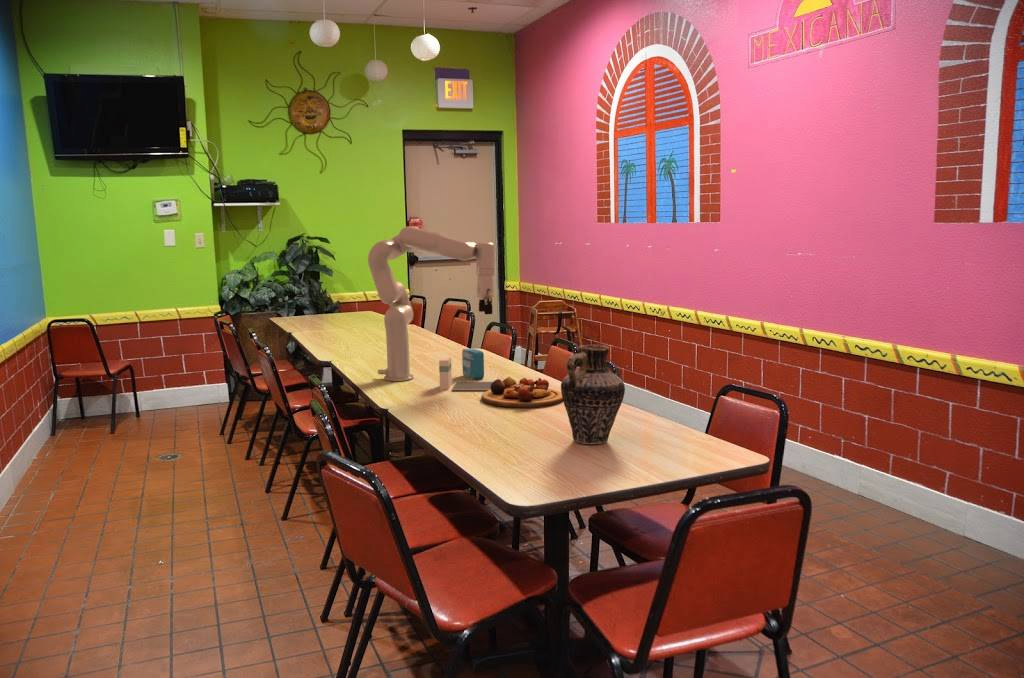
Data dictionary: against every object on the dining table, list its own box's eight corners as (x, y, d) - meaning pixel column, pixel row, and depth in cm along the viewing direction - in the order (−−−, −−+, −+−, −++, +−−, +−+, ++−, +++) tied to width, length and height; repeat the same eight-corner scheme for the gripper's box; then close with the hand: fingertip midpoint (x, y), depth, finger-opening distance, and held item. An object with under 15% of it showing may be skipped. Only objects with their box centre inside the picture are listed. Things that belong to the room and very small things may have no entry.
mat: (451, 391, 325) (451, 389, 324) (456, 383, 340) (456, 381, 340) (498, 391, 323) (498, 389, 323) (501, 383, 339) (501, 381, 339)
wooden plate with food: (558, 411, 291) (558, 388, 290) (472, 407, 298) (472, 384, 296) (569, 393, 322) (570, 373, 321) (491, 390, 329) (491, 370, 328)
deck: (439, 389, 328) (439, 360, 327) (443, 384, 337) (442, 356, 336) (448, 389, 328) (448, 360, 326) (451, 385, 337) (451, 356, 335)
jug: (584, 429, 264) (584, 339, 260) (636, 439, 252) (637, 344, 247) (546, 444, 248) (545, 347, 244) (599, 455, 236) (600, 353, 232)
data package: (462, 375, 357) (461, 348, 355) (471, 374, 359) (471, 347, 357) (475, 380, 347) (474, 352, 345) (484, 378, 349) (483, 351, 347)
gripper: (471, 270, 345) (472, 310, 348) (481, 273, 329) (481, 315, 331) (488, 270, 347) (489, 310, 350) (499, 273, 331) (499, 315, 333)
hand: (485, 312), depth 340 cm, fingers open, 9 cm apart
